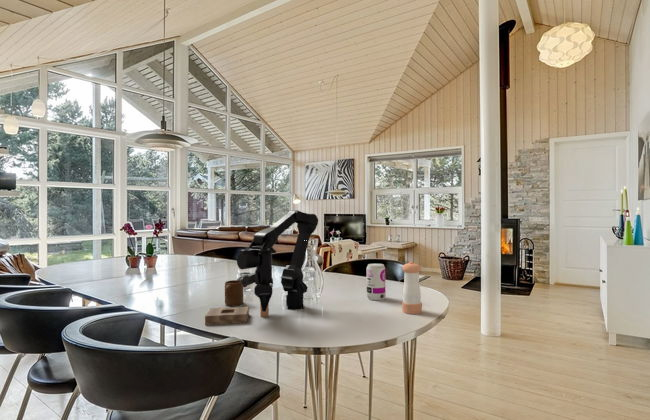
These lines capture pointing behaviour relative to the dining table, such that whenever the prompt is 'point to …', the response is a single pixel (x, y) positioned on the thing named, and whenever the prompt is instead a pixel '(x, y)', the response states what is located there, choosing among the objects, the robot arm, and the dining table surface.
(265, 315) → the peg
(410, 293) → the pepper shaker
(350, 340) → the dining table surface
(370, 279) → the supplement can
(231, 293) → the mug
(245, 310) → the hole block
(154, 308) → the dining table surface
